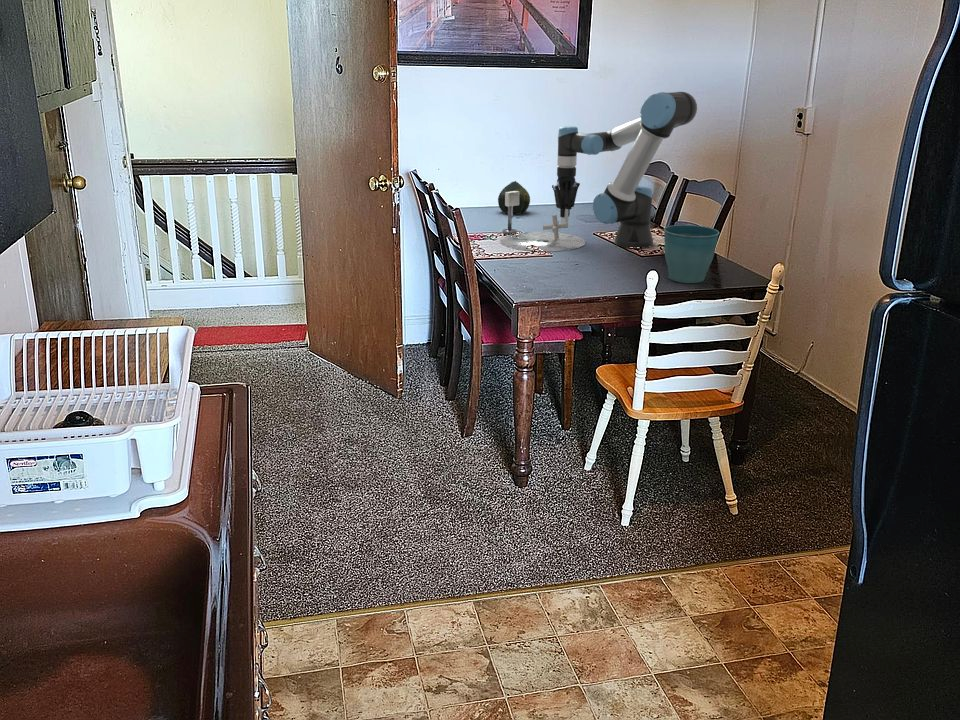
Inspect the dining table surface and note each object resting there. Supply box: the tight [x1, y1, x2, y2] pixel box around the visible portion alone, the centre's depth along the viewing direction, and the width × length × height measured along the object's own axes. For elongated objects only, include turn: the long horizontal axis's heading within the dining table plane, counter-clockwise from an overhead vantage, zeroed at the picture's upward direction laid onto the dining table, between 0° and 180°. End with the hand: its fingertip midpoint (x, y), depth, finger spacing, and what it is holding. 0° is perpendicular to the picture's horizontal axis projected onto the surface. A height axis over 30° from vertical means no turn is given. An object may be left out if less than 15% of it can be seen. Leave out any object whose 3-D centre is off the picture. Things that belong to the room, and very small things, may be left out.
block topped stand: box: [501, 191, 520, 235], centre depth 357 cm, size 6×6×17 cm
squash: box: [497, 180, 531, 215], centre depth 400 cm, size 14×15×15 cm
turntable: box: [500, 231, 586, 253], centre depth 345 cm, size 34×34×1 cm
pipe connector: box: [542, 213, 569, 239], centre depth 346 cm, size 10×10×10 cm
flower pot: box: [663, 224, 720, 284], centre depth 290 cm, size 18×18×17 cm
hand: (564, 225), depth 349 cm, fingers closed
